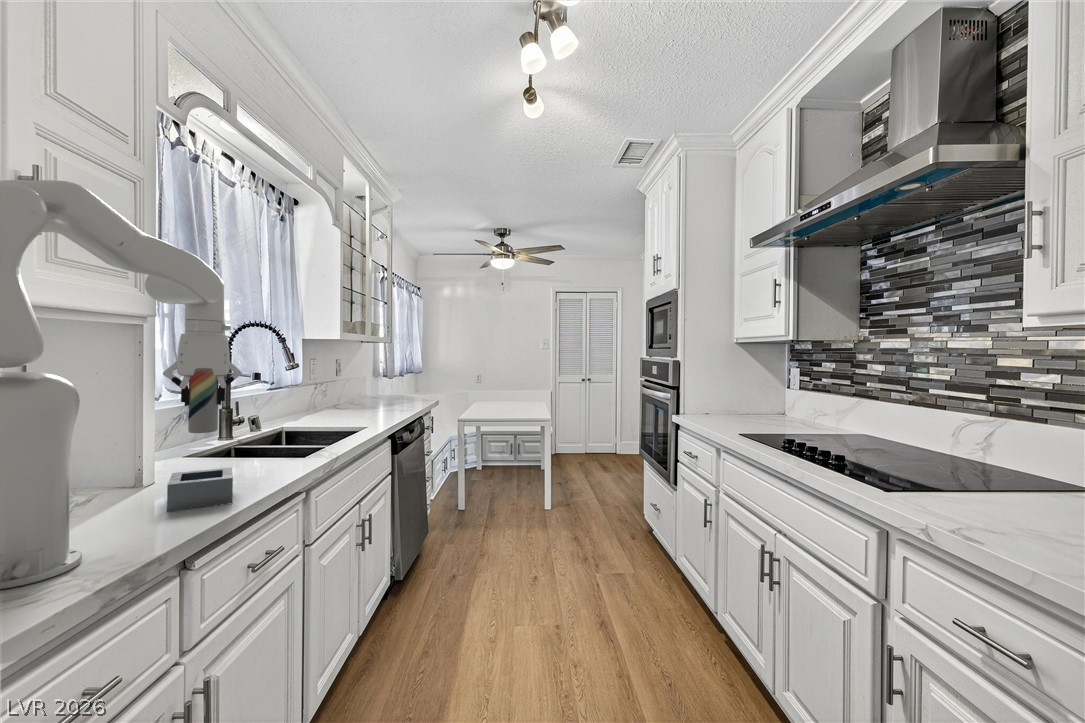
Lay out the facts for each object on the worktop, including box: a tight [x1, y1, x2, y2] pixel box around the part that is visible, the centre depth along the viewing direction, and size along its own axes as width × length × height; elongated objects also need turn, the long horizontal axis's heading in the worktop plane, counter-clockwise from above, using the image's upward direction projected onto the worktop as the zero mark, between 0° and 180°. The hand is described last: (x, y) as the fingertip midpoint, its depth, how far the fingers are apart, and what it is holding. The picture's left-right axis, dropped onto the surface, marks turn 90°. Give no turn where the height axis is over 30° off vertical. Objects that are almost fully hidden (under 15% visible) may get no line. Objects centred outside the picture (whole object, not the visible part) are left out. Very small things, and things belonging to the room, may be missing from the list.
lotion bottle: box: [187, 368, 219, 434], centre depth 112 cm, size 6×6×20 cm
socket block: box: [166, 467, 234, 513], centre depth 112 cm, size 12×12×6 cm
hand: (203, 404), depth 112 cm, fingers closed on lotion bottle, 5 cm apart
